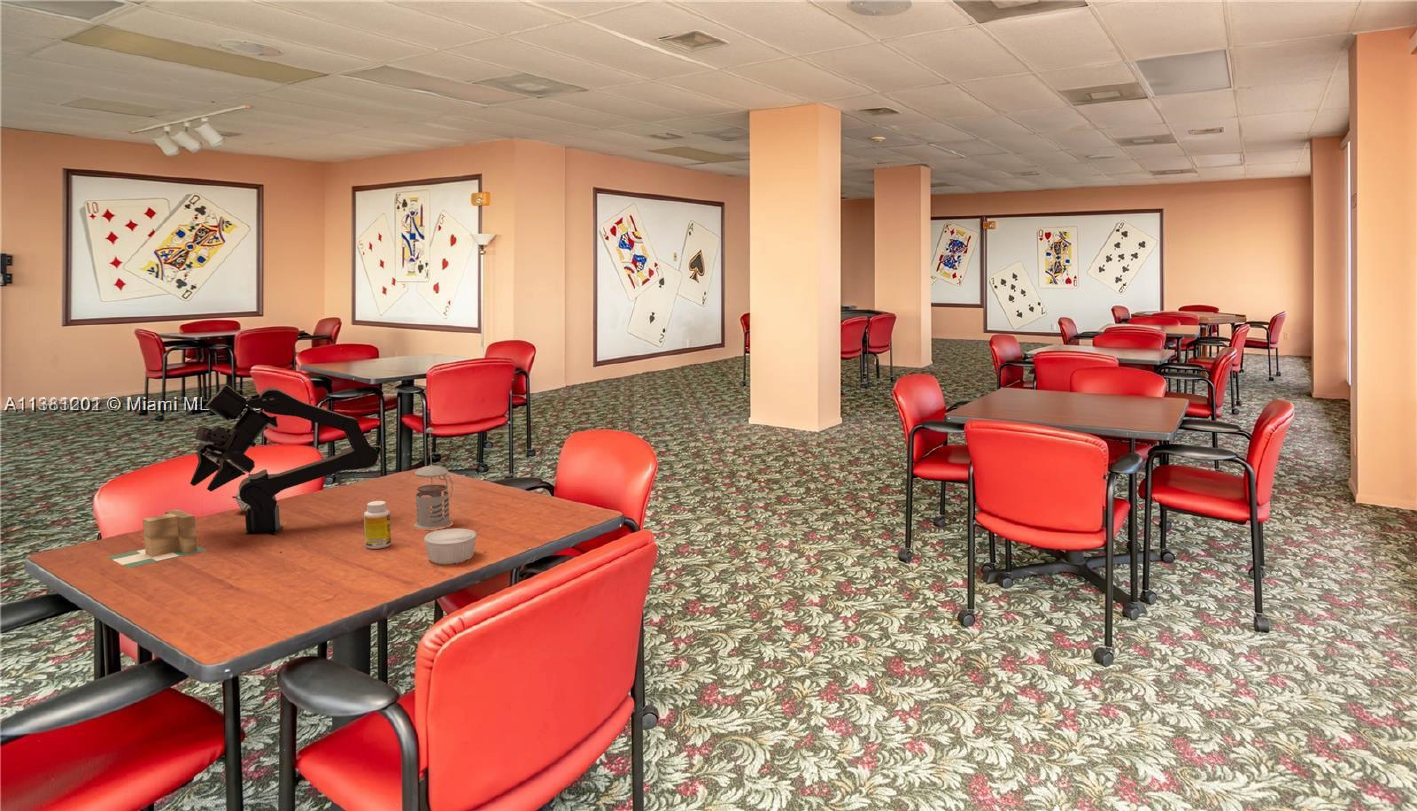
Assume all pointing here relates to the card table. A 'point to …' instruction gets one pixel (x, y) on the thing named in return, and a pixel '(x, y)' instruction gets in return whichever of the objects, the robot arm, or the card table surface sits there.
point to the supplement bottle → (377, 525)
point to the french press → (424, 503)
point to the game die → (241, 503)
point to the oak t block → (169, 533)
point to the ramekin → (450, 545)
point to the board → (146, 557)
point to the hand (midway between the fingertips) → (200, 487)
